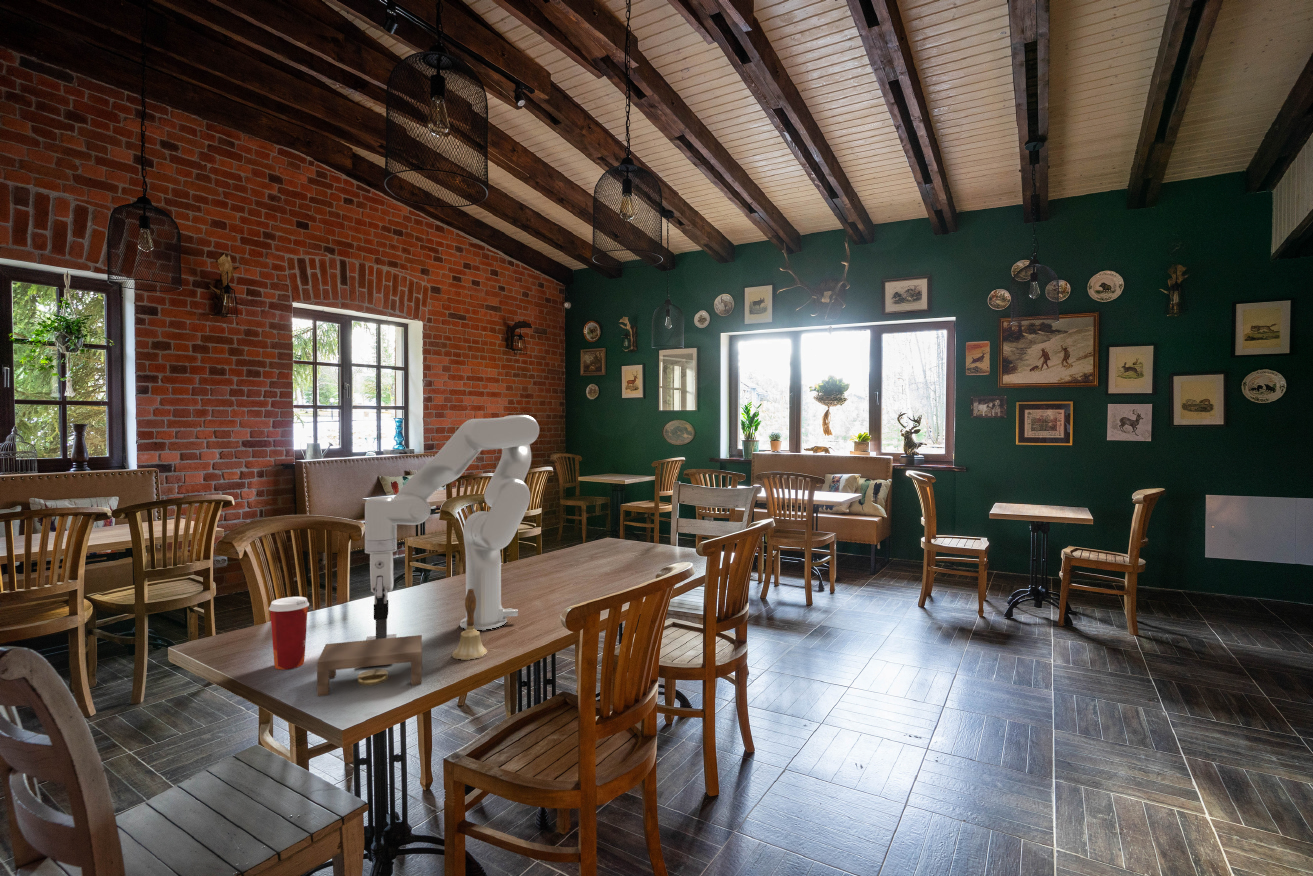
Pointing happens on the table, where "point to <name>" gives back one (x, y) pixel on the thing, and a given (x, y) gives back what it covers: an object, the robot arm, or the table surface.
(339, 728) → the table surface
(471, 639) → the hand bell
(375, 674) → the brass puck
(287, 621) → the coffee cup
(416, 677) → the walnut bench
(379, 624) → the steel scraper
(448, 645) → the table surface
